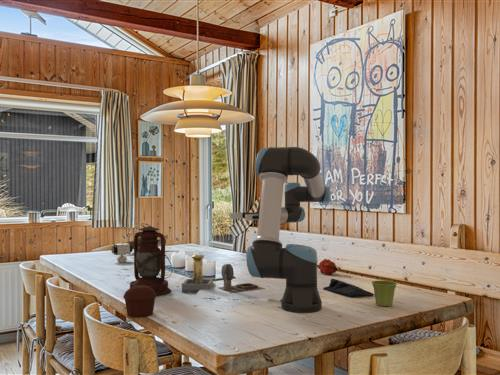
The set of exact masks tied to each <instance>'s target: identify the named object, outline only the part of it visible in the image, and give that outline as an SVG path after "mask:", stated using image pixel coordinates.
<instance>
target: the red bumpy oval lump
mask: <svg viewBox="0 0 500 375" xmlns="http://www.w3.org/2000/svg"><path fill="white" fill-rule="evenodd" d="M318 263H319V264H318V266H317V270H319V271H320V273H321V274H324V275H327V276H332V274H336V272H337V271H338V266H337V265H336V263H335V262H333V261H332V260H331V259H330V258H329V259H327V258H325V259H322V260H321V261H320V262H318Z"/></svg>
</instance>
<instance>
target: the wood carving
mask: <svg viewBox="0 0 500 375" xmlns="http://www.w3.org/2000/svg"><path fill="white" fill-rule="evenodd" d="M164 237H165V239H166V241H167V240H168V237H169V235H168V234H165V235H164ZM138 240H141V237H138ZM158 240H160V241H158V246H159V245H160V246H161V239H160V238H159V239H158ZM124 243H129V244H130V245H132V248H133V250H134V240H131V241H126V242H123V244H124ZM138 243H139V244H140V242H139V241H138ZM139 244H138V249H139V248H140V245H139Z"/></svg>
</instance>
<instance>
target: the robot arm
mask: <svg viewBox="0 0 500 375" xmlns="http://www.w3.org/2000/svg"><path fill="white" fill-rule="evenodd" d="M255 172H256V174H257V176H258V178H259V180H260V181H261V183H262V184H261V193H260V202H259V211H254V212H242V211H241V212H229V219H230V220H232V219H233V220H236V219H238V220H239V219H240V220H243V219H244V221H258V225H257V234H256V238H255V239H253V241H252V245H250V246H248V247H247V249H246V255H245V257H246V266H247V272H248V273H249V274H250V276H251V277H253V278H260V279H281V280H285V289H284V291H283V292H284V293H283V296H282V299H281V308H282V310H284V311H288V312H292V313H293V312H294V313H315V312H319V311H321V310H322V309H323V308H322V307H323V304H322V303H323V302H322V299H321V296H320V293H319V289H318V263H319V262H318V253H317V250H316V249H315V248H313V247H311V246H307V245H304V244H303V245H302V244H298V243H297V244H294V243H289V244H286V246H285V247H283V243H282V242H281V240H280V232H281V225H282V224H289V223H301V222H303V221H304V220H305V219H306V212H305V208H304V207H302V206H301V203H329V202H330V201H331V197H332V196H331V195H332V194H331V193H332V192H331V191H332V190H331V187H330V186H326V185H324V182H323V178H322V175H321V173H320V172H321V164H320V161H319V159H318V158H317V156H315V155H314V154H313V153H312V152H310V151H309V150H307V149H306V148H303V147H299V146H287V147H286V146H281V147H276V146H275V147H273V146H270V147H263V148H260V150H259V151H258V153H257V155H256V159H255ZM288 176H300V177H301V178H302V179H303V181H304V183H305V185H304V186H303V185H302V186H301V183H300V182H287V181H288ZM283 192H284V206H283V207H282V205H283Z"/></svg>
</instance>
